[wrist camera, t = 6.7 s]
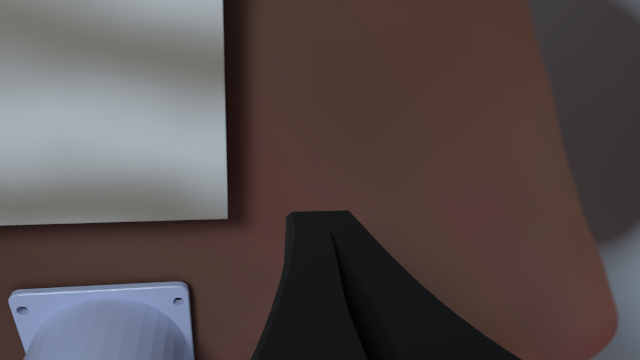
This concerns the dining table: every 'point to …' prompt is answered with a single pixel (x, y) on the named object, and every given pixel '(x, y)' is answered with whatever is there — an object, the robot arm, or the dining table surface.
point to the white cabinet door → (112, 111)
